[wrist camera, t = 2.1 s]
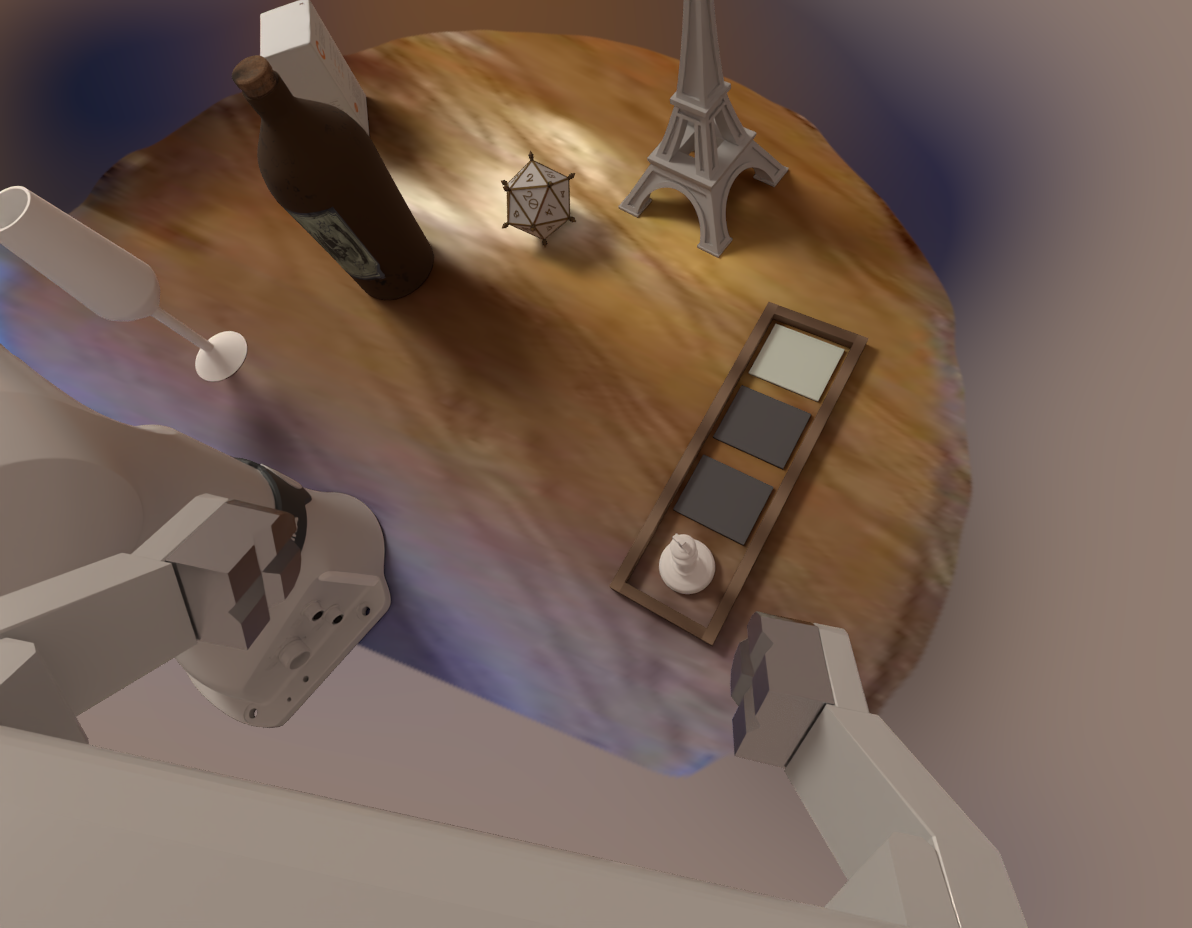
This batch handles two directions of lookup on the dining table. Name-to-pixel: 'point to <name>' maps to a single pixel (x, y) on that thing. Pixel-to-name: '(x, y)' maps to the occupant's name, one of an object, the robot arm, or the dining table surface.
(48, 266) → the champagne flute
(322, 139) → the olive oil
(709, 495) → the tiles
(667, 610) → the tray
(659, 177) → the eiffel tower
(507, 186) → the game die
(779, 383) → the pad
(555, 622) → the dining table surface
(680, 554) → the chess piece
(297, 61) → the small box
